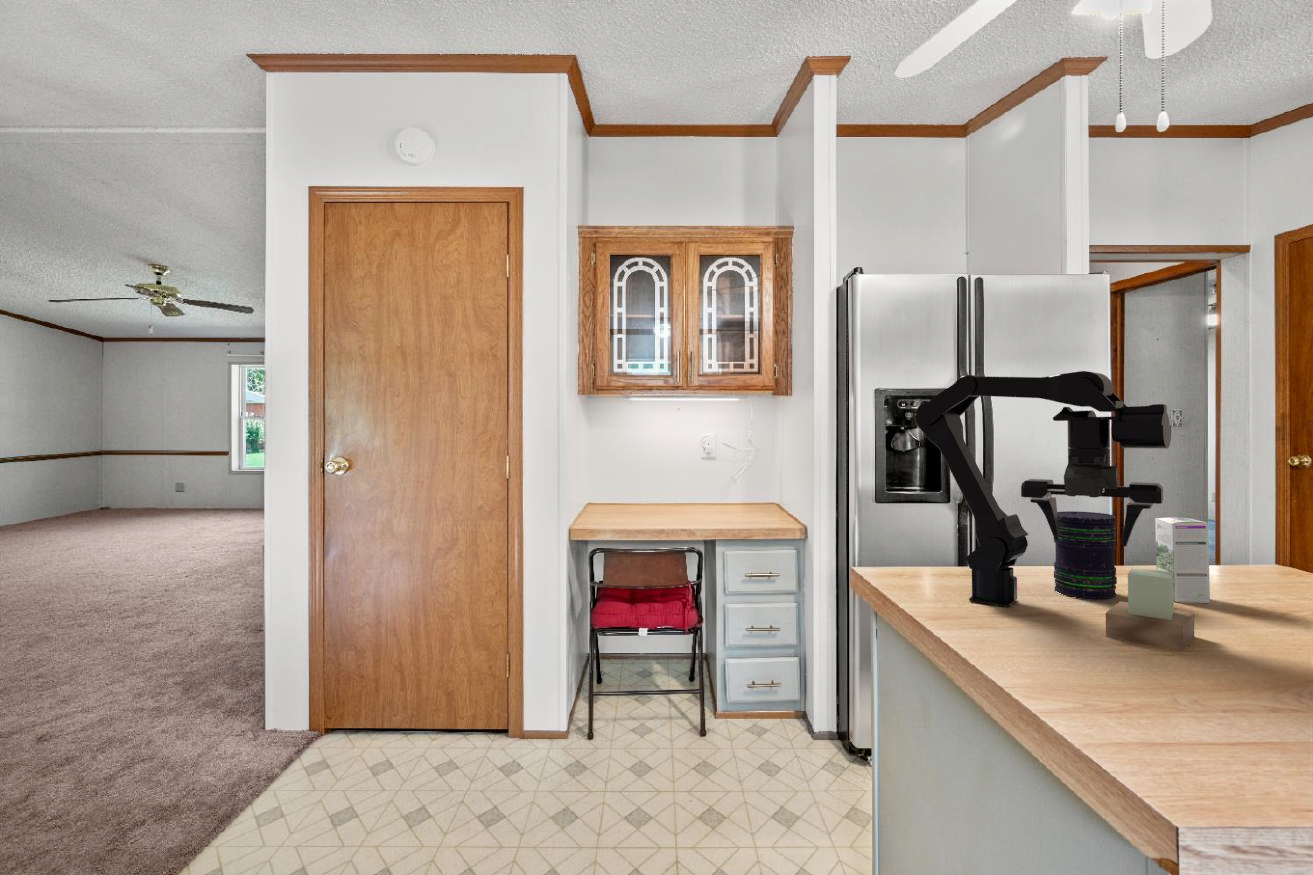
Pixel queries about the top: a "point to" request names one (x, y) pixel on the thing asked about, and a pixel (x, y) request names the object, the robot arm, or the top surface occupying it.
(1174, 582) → the syrup box
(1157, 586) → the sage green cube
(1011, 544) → the robot arm
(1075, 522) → the storage jar
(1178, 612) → the block
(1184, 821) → the top surface
